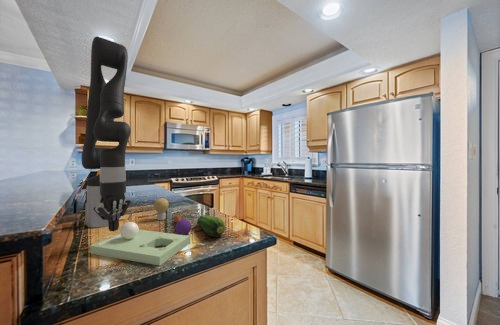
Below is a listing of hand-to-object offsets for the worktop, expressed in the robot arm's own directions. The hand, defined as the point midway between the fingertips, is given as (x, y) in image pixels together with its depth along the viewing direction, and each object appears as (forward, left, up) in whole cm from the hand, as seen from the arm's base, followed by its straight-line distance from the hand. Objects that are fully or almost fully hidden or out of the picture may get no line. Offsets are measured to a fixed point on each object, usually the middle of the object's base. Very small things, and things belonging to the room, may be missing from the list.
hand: (113, 230), depth 74 cm
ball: (+6, 0, +1) cm, 7 cm away
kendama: (+13, +20, -5) cm, 24 cm away
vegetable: (+25, +21, -5) cm, 33 cm away
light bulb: (-3, +28, -5) cm, 29 cm away
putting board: (+12, 0, -5) cm, 13 cm away
